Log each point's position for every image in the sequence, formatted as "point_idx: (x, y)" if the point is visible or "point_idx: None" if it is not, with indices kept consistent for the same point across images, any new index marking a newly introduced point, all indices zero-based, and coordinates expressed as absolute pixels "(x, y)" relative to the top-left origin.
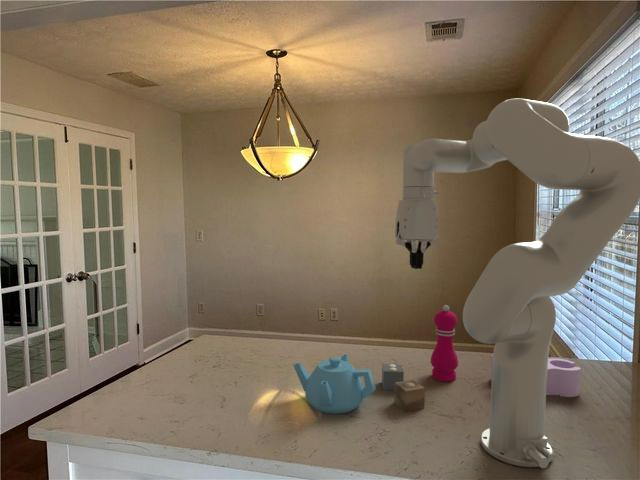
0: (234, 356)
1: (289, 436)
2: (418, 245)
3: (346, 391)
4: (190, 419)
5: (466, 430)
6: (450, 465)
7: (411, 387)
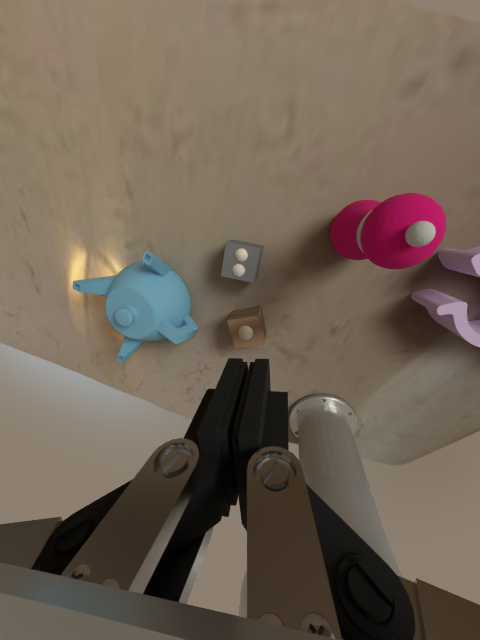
0: None
1: None
2: (254, 536)
3: (157, 340)
4: (20, 313)
5: (292, 383)
6: None
7: (245, 339)
